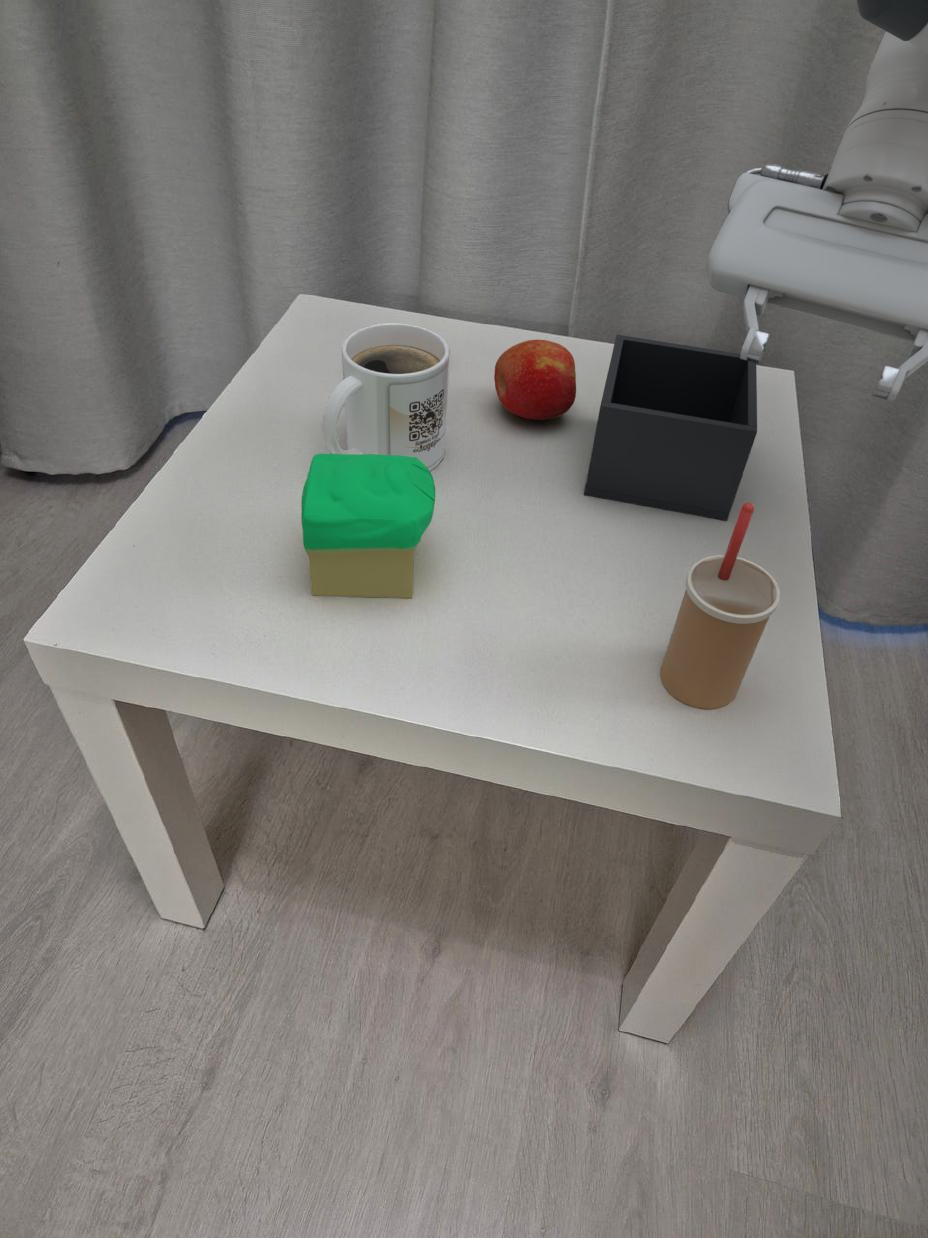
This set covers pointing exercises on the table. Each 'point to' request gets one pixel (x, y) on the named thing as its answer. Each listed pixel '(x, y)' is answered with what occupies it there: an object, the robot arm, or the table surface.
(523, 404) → the apple
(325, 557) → the cake
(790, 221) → the robot arm
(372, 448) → the mug
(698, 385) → the bin
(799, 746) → the table surface
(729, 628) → the paper cup
